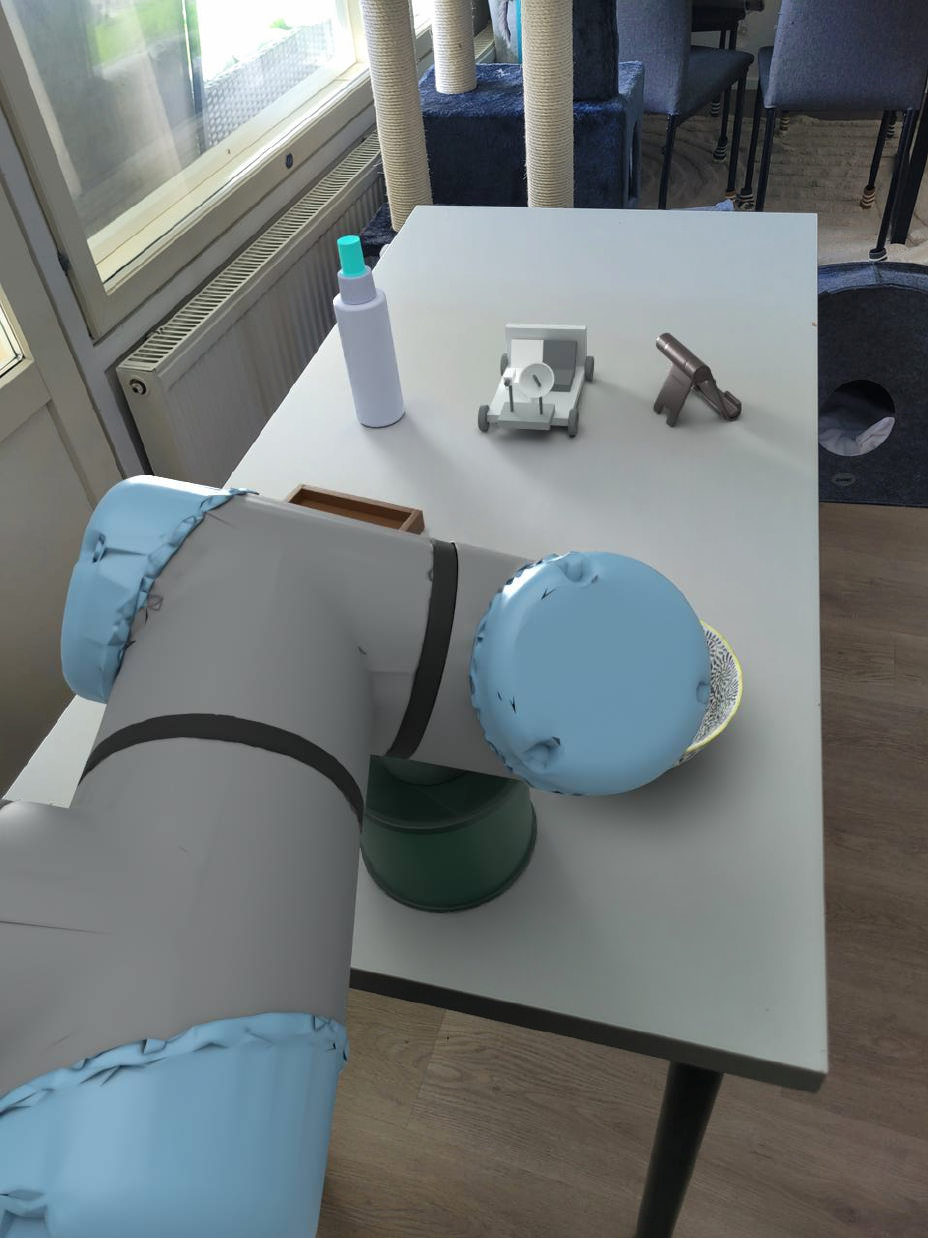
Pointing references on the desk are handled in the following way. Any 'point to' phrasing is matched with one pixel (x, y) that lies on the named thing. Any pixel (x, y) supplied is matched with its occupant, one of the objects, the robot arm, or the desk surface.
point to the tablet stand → (690, 382)
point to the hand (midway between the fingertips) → (406, 684)
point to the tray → (358, 508)
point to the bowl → (717, 692)
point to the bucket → (446, 838)
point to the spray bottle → (366, 339)
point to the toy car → (540, 378)
